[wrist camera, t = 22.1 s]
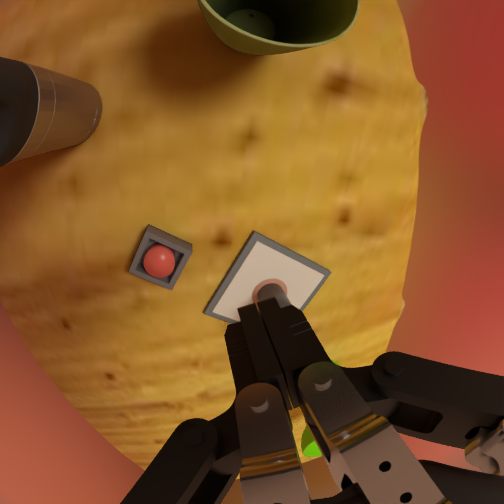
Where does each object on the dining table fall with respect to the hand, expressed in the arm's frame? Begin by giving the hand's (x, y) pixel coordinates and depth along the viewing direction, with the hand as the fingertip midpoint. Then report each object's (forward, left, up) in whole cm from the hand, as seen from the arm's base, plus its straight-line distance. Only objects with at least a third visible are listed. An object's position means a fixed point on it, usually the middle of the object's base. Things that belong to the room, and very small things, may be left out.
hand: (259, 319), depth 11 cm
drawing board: (+18, -12, -29) cm, 36 cm away
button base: (-1, -13, -29) cm, 32 cm away
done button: (-1, -13, -28) cm, 31 cm away
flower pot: (-7, +21, -29) cm, 37 cm away
